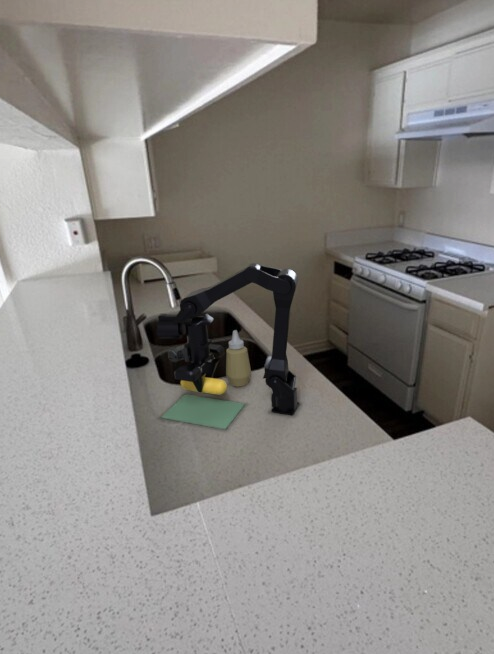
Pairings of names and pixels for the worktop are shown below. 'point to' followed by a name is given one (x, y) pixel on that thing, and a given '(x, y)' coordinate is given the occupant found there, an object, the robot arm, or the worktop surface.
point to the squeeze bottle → (237, 362)
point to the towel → (204, 411)
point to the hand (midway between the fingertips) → (204, 388)
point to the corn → (207, 386)
